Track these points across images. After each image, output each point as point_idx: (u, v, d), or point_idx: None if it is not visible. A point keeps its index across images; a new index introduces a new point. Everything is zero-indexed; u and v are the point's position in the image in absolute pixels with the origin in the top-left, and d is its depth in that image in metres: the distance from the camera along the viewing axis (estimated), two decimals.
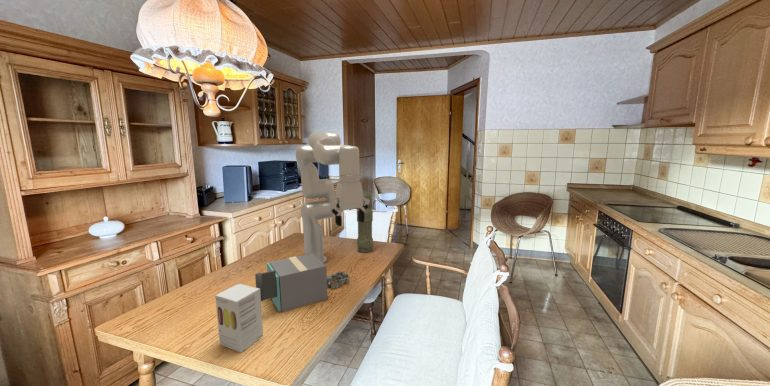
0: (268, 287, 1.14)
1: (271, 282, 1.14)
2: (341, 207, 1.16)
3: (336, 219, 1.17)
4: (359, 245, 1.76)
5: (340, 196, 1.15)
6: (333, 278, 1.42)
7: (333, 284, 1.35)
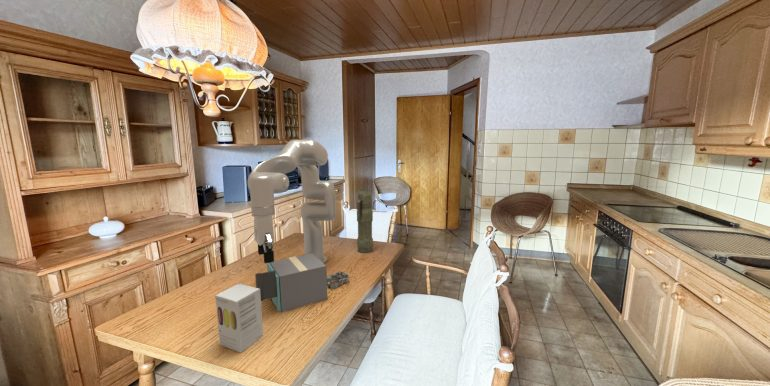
0: (268, 287, 1.14)
1: (271, 282, 1.14)
2: (273, 240, 1.08)
3: (269, 256, 1.07)
4: (359, 245, 1.76)
5: (272, 229, 1.07)
6: (333, 277, 1.42)
7: (332, 284, 1.35)
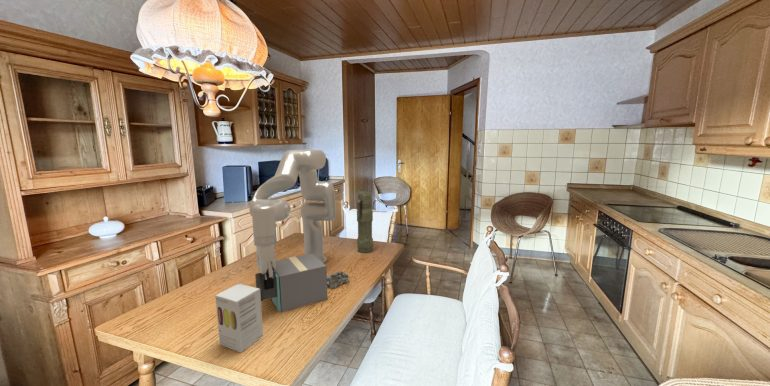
0: None
1: None
2: (275, 268, 1.10)
3: (269, 283, 1.12)
4: (359, 245, 1.76)
5: (274, 258, 1.09)
6: (333, 277, 1.42)
7: (331, 284, 1.35)
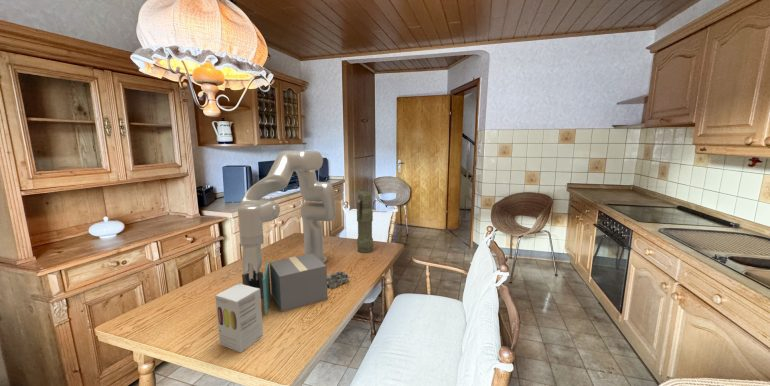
0: None
1: None
2: (257, 271, 1.08)
3: (254, 284, 1.11)
4: (359, 245, 1.76)
5: (255, 260, 1.07)
6: (333, 277, 1.42)
7: (331, 284, 1.35)
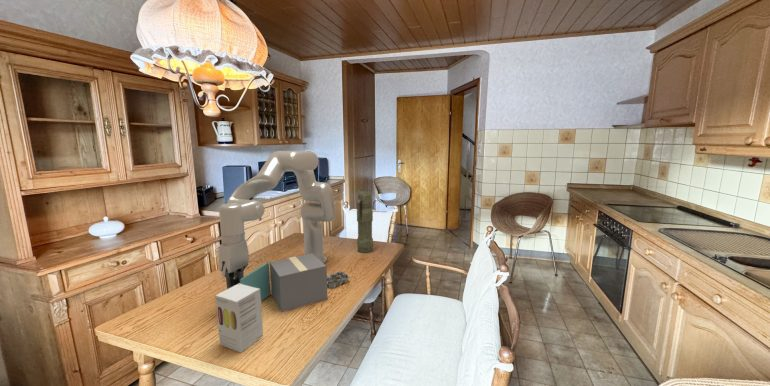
0: None
1: None
2: (230, 270, 1.09)
3: (232, 282, 1.13)
4: (359, 245, 1.76)
5: (228, 259, 1.08)
6: (333, 277, 1.43)
7: (330, 284, 1.35)
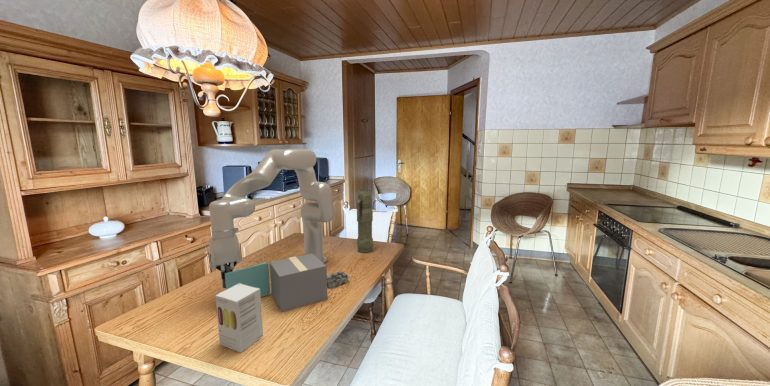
0: None
1: None
2: (213, 263, 1.15)
3: (222, 275, 1.19)
4: (359, 245, 1.76)
5: (212, 252, 1.14)
6: (333, 277, 1.43)
7: (330, 283, 1.35)
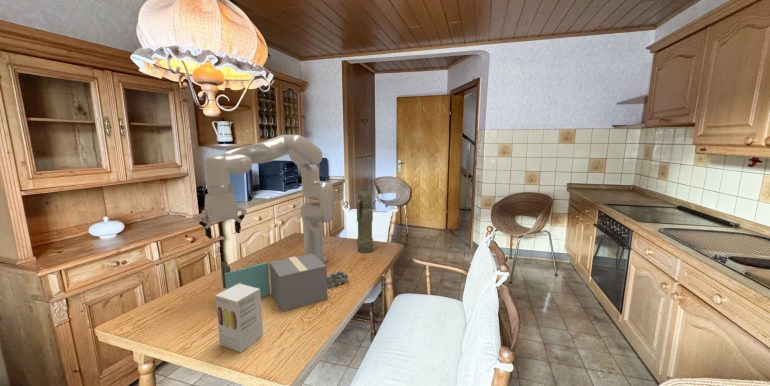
0: None
1: None
2: (209, 219, 1.12)
3: (206, 231, 1.13)
4: (359, 245, 1.76)
5: (208, 208, 1.11)
6: (333, 277, 1.43)
7: (329, 283, 1.35)
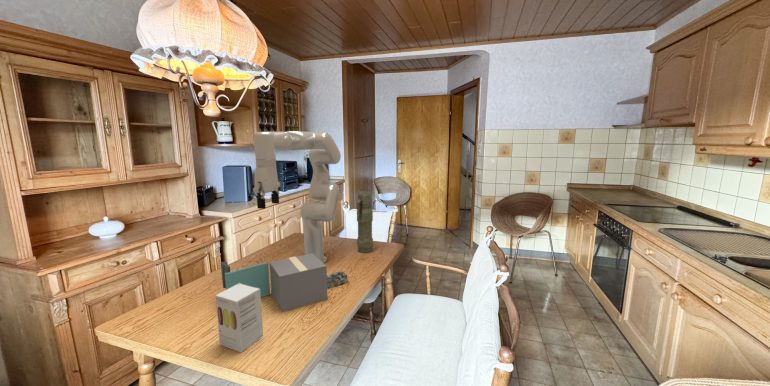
0: None
1: None
2: (265, 190, 1.22)
3: (259, 202, 1.22)
4: (359, 245, 1.76)
5: (263, 179, 1.21)
6: (333, 277, 1.43)
7: (328, 283, 1.36)
